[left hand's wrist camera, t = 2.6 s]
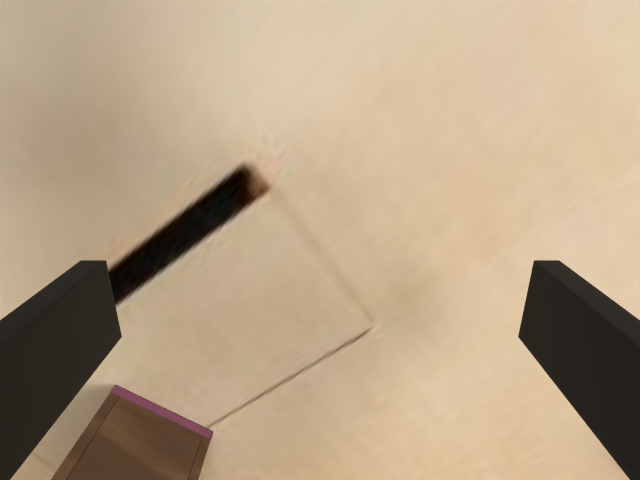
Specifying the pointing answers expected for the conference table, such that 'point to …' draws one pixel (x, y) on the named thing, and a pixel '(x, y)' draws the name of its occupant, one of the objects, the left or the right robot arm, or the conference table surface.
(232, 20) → the conference table surface
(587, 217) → the conference table surface
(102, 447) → the chest
